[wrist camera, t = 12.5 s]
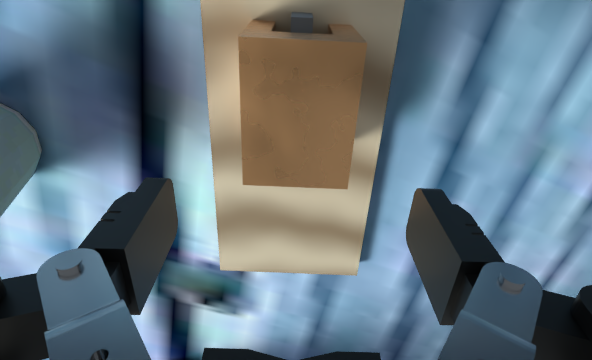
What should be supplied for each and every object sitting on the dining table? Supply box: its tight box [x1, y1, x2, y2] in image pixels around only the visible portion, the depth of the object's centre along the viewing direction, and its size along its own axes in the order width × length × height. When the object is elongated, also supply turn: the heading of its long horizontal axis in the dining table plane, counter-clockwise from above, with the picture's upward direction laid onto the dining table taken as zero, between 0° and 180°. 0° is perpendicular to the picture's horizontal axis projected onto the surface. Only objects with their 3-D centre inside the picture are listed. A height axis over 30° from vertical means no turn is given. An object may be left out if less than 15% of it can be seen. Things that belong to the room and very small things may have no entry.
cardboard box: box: [238, 20, 367, 189], centre depth 22 cm, size 8×6×6 cm
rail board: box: [200, 0, 405, 275], centre depth 27 cm, size 22×12×4 cm, turn 177°
